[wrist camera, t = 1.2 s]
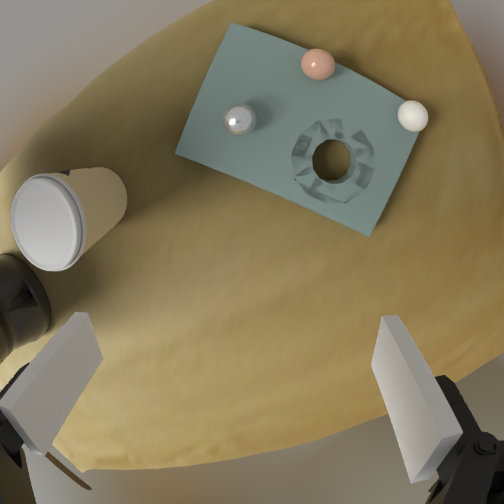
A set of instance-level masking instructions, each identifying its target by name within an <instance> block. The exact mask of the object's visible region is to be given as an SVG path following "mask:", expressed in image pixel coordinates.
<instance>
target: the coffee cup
mask: <svg viewBox="0 0 504 504" xmlns="http://www.w3.org/2000/svg"><path fill="white" fill-rule="evenodd" d="M126 208H127V192H126V188H125V186H124V184H123V182H122V180H121V179H120V177H119V176H118V175H117V174H116V173H114V172H113V171H112V170H110V169H107V168H104V167H91V168H82V169H75V170H67V171H61V172H55V173H49V174H48V173H43V174H37V175H34V176H32V177H30V178H29V179H27V180H26V181H25V182H24V183H23V184H22V185H21V187H20V188H19V189H18V191H17V192H16V194H15V197H14V199H13V202H12V206H11V226H12V231H13V235H14V238H15V241H16V243H17V245H18V247H19V249H20V250H21V252H22V253H23V255H24V256H25V257H26V258H27V259H28V260H29V261H30V262H31V263H32V264H34V265H35V266H37V267H38V268H40V269H43V270H46V271H62V270H65V269H67V268H69V267H71V266H72V265H73V264H75V263H76V261H77V260H78V259H79V258H80V256H81V255H83V254H84V253H85V252H86V251H87V250H88V249H89V248H91V247H92V246H93V245H94V244H95V243H96V242H97V241H98V240H99V239H100V238H102V237H103V236H104V235H105V234H106V233H107V232H108V231H110V230H111V229H112V228H113V227H114V226H115V225H116V224H117V223H118V222H119V221H120V220H121V219H122V217H123V215H124V213H125V211H126Z"/></svg>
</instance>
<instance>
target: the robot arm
mask: <svg viewBox="0 0 504 504" xmlns="http://www.w3.org/2000/svg"><path fill="white" fill-rule="evenodd" d="M50 320H51V313H50V306H49V302H48V299H47V296H46V294H45V291H44V289H43V287H42V285H41V284H40V282H39V280H38V279H37V277H36V276H35V274H34V273H33V272H32V271H31V270H30V268H29V267H28V266H27V265H26V264H24V263H23V262H22V261H21V260H19V259H18V258H16V257H14V256H11V255H0V364H1V363H2V362H3V361H4V360H5V358H6V357H7V356H8V355H9V354H10V353H11V352H12V351H13V350H15V349H17V348H19V347H21V346H23V345H26V344H28V343H30V342H33V341H36V340H37V339H39V338H40V337H41V336H42V335H43V334H44V333H45V332H46V331H47V329H48V327H49V325H50ZM102 360H103V356H102V354H101V351H100V348H99V345H98V342H97V339H96V336H95V333H94V330H93V327H92V323H91V320H90V317H89V313H85V312H75V313H74V314H73V315H72V316H71V317H70V318H69V319H68V321H67V322H66V323H65V324H64V325H63V326H62V327H61V328H60V329H59V330H58V332H57V333H56V334H55V335H54V336H53V337H52V338H51V339H50V341H49V342H48V343H47V344H46V345H45V346H44V347H43V349H42V350H41V351H40V352H39V353H38V354H37V355H36V357H35V358H34V359H33V360H32V361H31V363H27V364H26V365H24V366H23V367H22V368H20V369H19V370H18V371H17V373H16V374H15V375H14V378H12V379H11V380H10V381H9V384H7V385H6V386H5V387H4V388H3V390H2V391H1V392H0V504H36V501H35V497H34V493H33V490H32V486H31V482H30V478H29V473H28V468H27V464H26V458H25V453H24V450H23V449H22V447H21V446H22V445H23V443H25V444H26V445H27V447H28V448H29V449H30V451H32V452H34V453H36V454H39V455H41V456H45V455H46V453H47V451H48V450H49V448H50V446H51V444H52V442H53V441H54V439H55V437H56V435H57V434H58V432H59V430H60V428H61V427H62V425H63V423H64V422H65V420H66V418H67V416H68V415H69V413H70V411H71V410H72V408H73V406H74V405H75V403H76V401H77V400H78V398H79V396H80V395H81V393H82V392H83V390H84V388H85V387H86V385H87V383H88V382H89V380H90V379H91V377H92V375H93V374H94V372H95V371H96V369H97V368H98V366H99V364H100V363H101V361H102ZM371 366H372V369H373V372H374V374H375V377H376V380H377V383H378V385H379V388H380V391H381V394H382V396H383V399H384V402H385V405H386V408H387V411H388V414H389V416H390V419H391V422H392V425H393V428H394V431H395V434H396V437H397V441H398V444H399V447H400V450H401V453H402V456H403V460H404V463H405V466H406V469H407V473H408V476H409V479H410V483H414V482H418V481H422V480H426V479H429V478H431V476H432V475H433V474H434V473H435V471H436V470H437V472H438V475H439V479H438V480H437V481H436V482H435V484H434V485H433V486H432V487H431V488H430V489H429V492H431V491H432V492H431V494H430V496H429V498H428V499H427V501H426V503H425V504H504V441H498V440H497V439H496V438H495V436H493V435H492V434H490V433H488V432H482V431H481V430H480V428H479V426H478V424H477V423H476V421H475V419H474V417H473V415H472V413H471V411H470V410H469V408H468V406H467V405H466V403H464V399H463V397H462V395H460V392H459V390H458V389H457V387H456V385H455V383H454V382H453V381H451V380H450V379H449V378H448V377H447V376H445V375H442V376H437V377H434V375H433V374H432V372H431V370H430V368H429V366H428V365H427V363H426V361H425V359H424V358H423V356H422V354H421V353H420V351H419V349H418V347H417V346H416V344H415V342H414V341H413V339H412V337H411V336H410V334H409V332H408V331H407V329H406V327H405V326H404V324H403V323H402V321H401V319H400V318H399V316H398V315H390V316H382V318H381V323H380V328H379V332H378V337H377V342H376V346H375V350H374V355H373V359H372V363H371Z"/></svg>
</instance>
